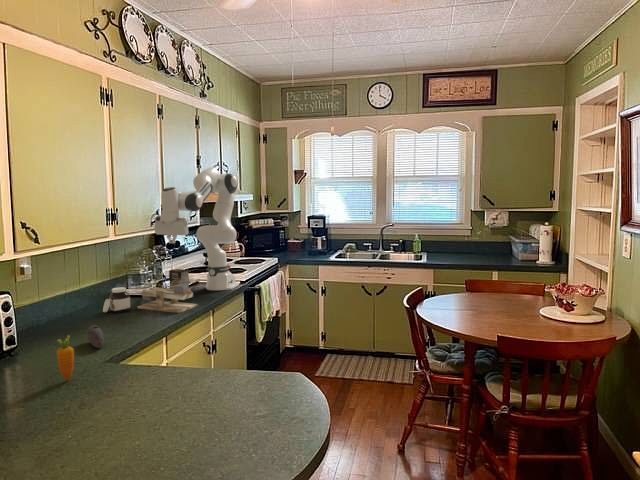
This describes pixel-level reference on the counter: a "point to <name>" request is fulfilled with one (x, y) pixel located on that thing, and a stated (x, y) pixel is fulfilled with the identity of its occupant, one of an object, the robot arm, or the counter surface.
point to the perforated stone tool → (95, 336)
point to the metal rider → (180, 288)
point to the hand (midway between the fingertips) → (172, 243)
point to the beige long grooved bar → (165, 294)
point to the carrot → (65, 358)
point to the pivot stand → (167, 304)
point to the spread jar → (117, 300)
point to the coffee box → (179, 277)
